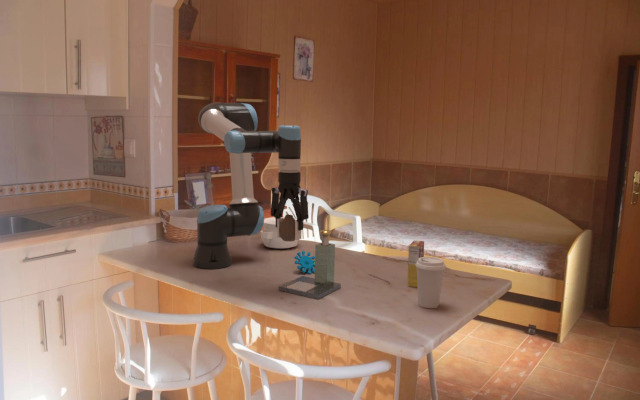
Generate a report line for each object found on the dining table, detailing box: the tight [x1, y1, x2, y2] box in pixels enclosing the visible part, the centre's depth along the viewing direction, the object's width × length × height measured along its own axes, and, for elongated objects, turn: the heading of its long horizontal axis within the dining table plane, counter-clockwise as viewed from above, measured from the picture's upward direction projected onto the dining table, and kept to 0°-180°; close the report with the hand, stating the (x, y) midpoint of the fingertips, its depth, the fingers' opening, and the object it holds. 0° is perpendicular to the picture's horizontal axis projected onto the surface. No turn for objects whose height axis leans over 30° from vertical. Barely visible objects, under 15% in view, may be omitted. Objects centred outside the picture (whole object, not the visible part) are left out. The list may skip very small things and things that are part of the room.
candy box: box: [407, 239, 425, 289], centre depth 200 cm, size 9×4×15 cm, turn 158°
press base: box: [278, 242, 342, 300], centre depth 191 cm, size 16×15×16 cm
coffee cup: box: [415, 256, 447, 309], centre depth 178 cm, size 10×10×15 cm
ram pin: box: [319, 229, 332, 246], centre depth 192 cm, size 4×4×11 cm
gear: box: [294, 250, 315, 275], centre depth 214 cm, size 11×6×10 cm
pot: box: [260, 216, 299, 250], centre depth 251 cm, size 22×17×12 cm
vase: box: [279, 214, 296, 241], centre depth 188 cm, size 7×7×9 cm
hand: (289, 238), depth 189 cm, fingers closed on vase, 7 cm apart
